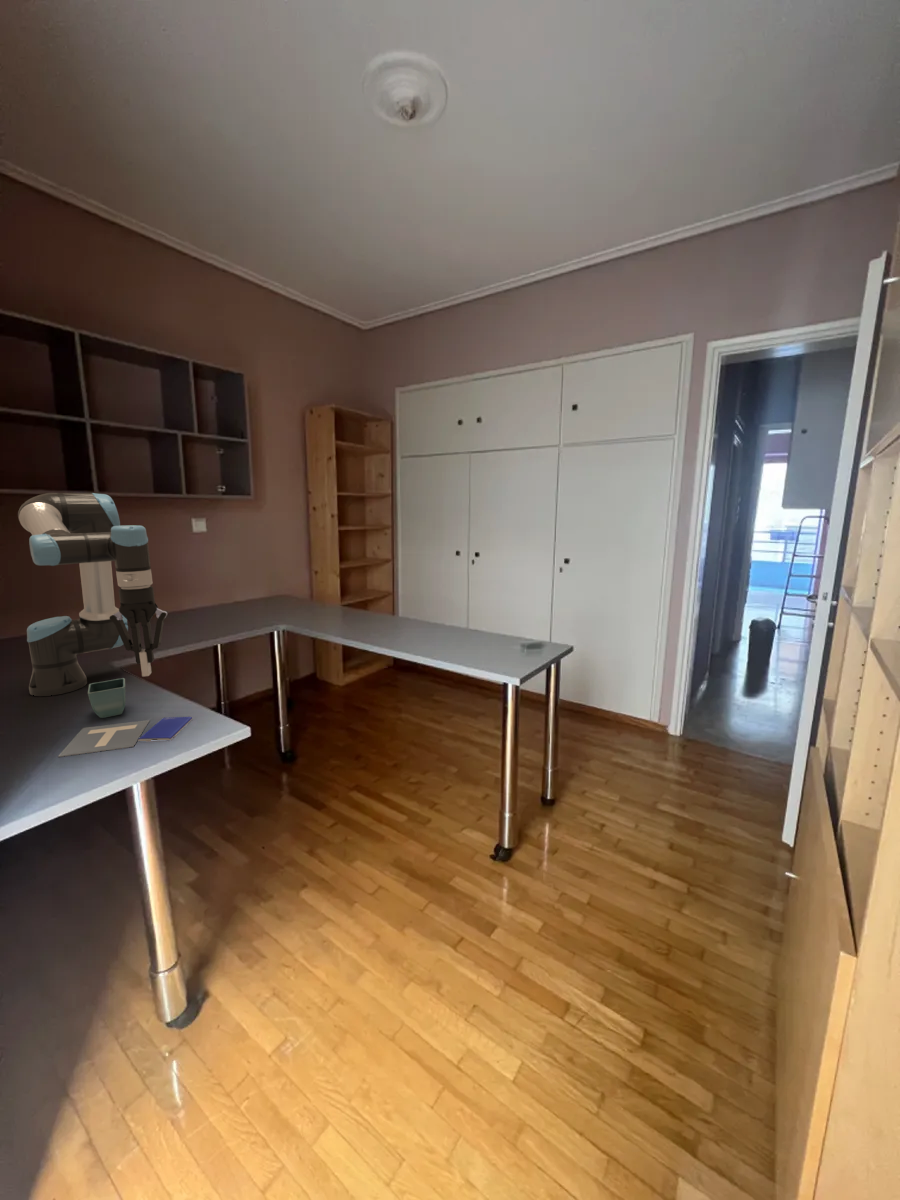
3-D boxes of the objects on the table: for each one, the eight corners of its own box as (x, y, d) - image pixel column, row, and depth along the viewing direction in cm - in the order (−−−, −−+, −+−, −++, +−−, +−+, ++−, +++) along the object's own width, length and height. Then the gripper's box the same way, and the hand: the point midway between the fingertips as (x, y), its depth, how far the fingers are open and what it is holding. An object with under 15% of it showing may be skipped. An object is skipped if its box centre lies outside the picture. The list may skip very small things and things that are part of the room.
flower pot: (91, 723, 137) (87, 693, 135) (93, 712, 144) (89, 683, 142) (129, 715, 142) (125, 686, 140) (128, 705, 149) (124, 677, 147)
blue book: (162, 717, 138) (137, 738, 126) (192, 716, 139) (170, 737, 127) (163, 722, 138) (138, 743, 126) (192, 721, 139) (171, 742, 127)
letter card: (83, 728, 133) (82, 727, 133) (149, 720, 138) (149, 719, 138) (57, 757, 118) (57, 756, 118) (133, 747, 123) (133, 746, 123)
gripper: (100, 590, 119) (113, 682, 123) (160, 587, 122) (171, 676, 127) (111, 585, 126) (123, 672, 130) (168, 583, 129) (177, 667, 134)
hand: (146, 674), depth 129 cm, fingers closed
